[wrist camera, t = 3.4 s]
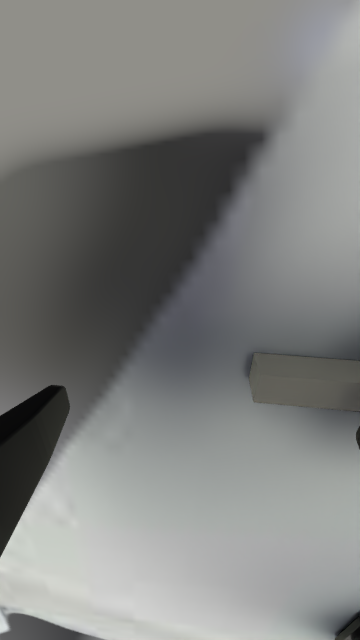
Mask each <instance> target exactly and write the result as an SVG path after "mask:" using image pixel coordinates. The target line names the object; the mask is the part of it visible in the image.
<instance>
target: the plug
mask: <svg viewBox="0 0 360 640" xmlns="http://www.w3.org/2000/svg"><path fill="white" fill-rule="evenodd" d="M249 382H250V387H251V392H252V396H253V401H254V402H257V403H268V404H279V405H290V406H301V407H313V408H324V409H335V410H346V411H357V412H360V361H355V360H342V359H329V358H316V357H303V356H289V355H276V354H263V353H254V355H253V360H252V365H251V370H250V375H249Z"/></svg>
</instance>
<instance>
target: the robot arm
mask: <svg viewBox="0 0 360 640" xmlns="http://www.w3.org/2000/svg"><path fill="white" fill-rule="evenodd" d="M69 409H70V404H69V400H68V396H67V392H66V388H65V387H64V386H58V385H51V386H48V387H47V388H45V389H43V390H42V391H40V392H38V393H37V394H35V395H34V396H32V397H30V398H29V399H27V400H25V401H24V402H22V403H20V404H19V405H17V406H16V407H14V408H12V409H11V410H9V411H8V412H6V413H4V414H2V415H1V416H0V557H1V555H2V553H3V551H4V549H5V547H6V545H7V543H8V541H9V539H10V537H11V535H12V533H13V532H14V530H15V528H16V526H17V524H18V522H19V520H20V518H21V516H22V514H23V512H24V510H25V508H26V506H27V504H28V502H29V500H30V498H31V496H32V494H33V492H34V490H35V488H36V487H37V485H38V483H39V481H40V479H41V477H42V475H43V473H44V471H45V469H46V467H47V465H48V463H49V461H50V458H51V456H52V454H53V451H54V449H55V446H56V444H57V441H58V438H59V436H60V433H61V431H62V428H63V426H64V423H65V421H66V418H67V416H68V413H69ZM356 440H357V443H358V446H359V449H360V426H359V428H358V430H357V432H356ZM335 640H360V616H359V617H358V618H357V619H356V620H355V621H353V622H352V623H351V624H350V625H349V626H348V627H347V628H346V629H345V630H344V631H343V632H341V633H340V634H339V635H338V636H337V637H336V638H335Z"/></svg>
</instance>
